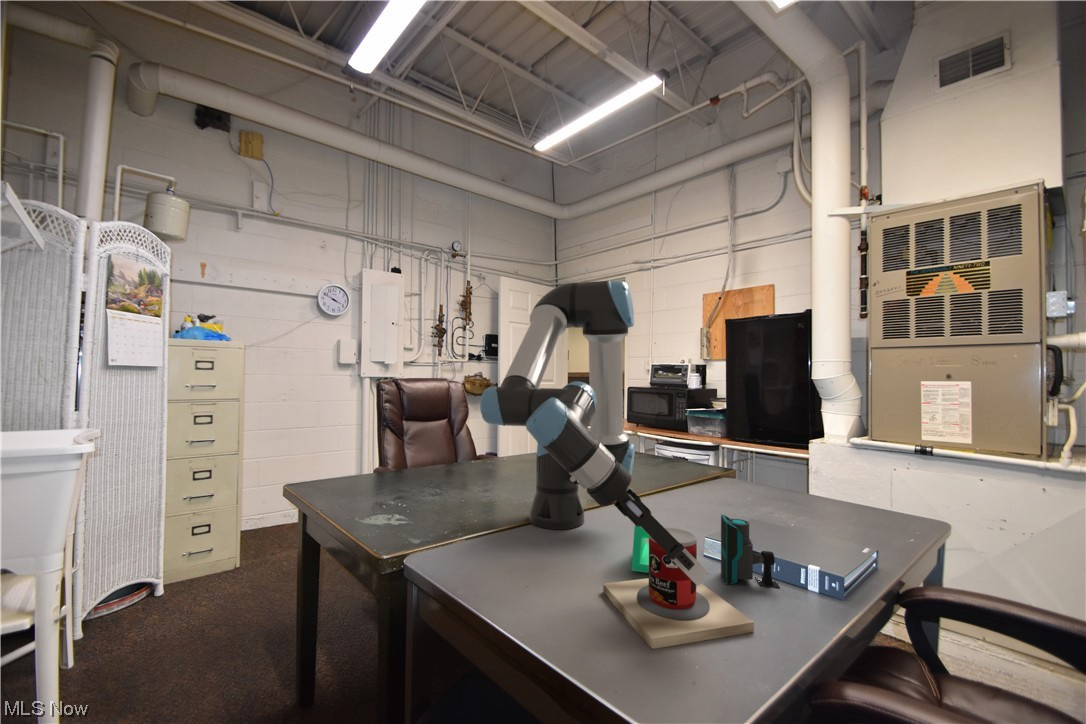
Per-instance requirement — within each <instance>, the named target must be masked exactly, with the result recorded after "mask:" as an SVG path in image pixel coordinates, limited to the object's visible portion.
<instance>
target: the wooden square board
mask: <svg viewBox="0 0 1086 724" xmlns="http://www.w3.org/2000/svg"><path fill="white" fill-rule="evenodd" d="M603 591H604V592H603ZM602 592H603V593H604V595H605V594H606V595H607V596H608V597H609V598H608V597H607V596H606V595H605V596H606V597H607V598H608V599H609V601H610V602H611V601H612V602H613V603H614V604H613V603H612V602H611V603H612V604H613V605H614V607H616V608H618V609H617V610H618V611H619V612H620V614H622V615H624V616H623V617H624V618H625V619H626V621H628V622H629V624H630V625H631V626H632V628H633V629H634V630H635V631H636V632H637V633H638V634H639V635H640V637H641V638H642V639H643V640H644V641H645V643H646V644H647V645H648V646H649V647H650V648H651V649H652V650H654V649H659V648H661V649H662V648H666V647H673V646H679V645H683V644H691V643H696V642H701V641H706V640H707V641H708V640H713V639H714V640H715V639H718V638H719V639H720V638H725V637H730V636H737V635H742V634H743V635H744V634H748V633H755V622H754V621H753V620H752V619H750V618H749V617H747V616H746V615H745V614H743V613H742V612H741V611H739V610H738V609H737V608H735V607H734V606H733V605H731V604H730V603H729V602H727V601H726V600H725V599H724V598H722V597H720V596H719V595H718V594H716V593H715V592H714V591H712V590H711V589H709V588H708V587H707V586H705V585H704V584H703V583H702V582H701V583H700V584H699V585H698V586H697V585H696V601H695V604H694V605H693V606H692V607H690V608H688V609H682V610H675V609H668V608H664V607H661V606H659V605H657V604H656V603H654V602H653V601H652V600H651V598H650V595H649V577H648V578H640V579H639V578H638V579H631V580H624V581H615V582H607V583H603V585H602Z"/></svg>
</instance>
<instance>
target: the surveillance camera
mask: <svg viewBox="0 0 1086 724" xmlns="http://www.w3.org/2000/svg"><path fill="white" fill-rule="evenodd" d="M753 545H754V544H753V543H752V539H751V538H750V522H749V521H747V520H744V519H742V518H741V519H739V518H729V517H728V516H727V515H725V514H720V575H721V574H722V575H721V578H722V577H723V578H722V579H724V580H723V583H724V582H725V583H726V584H725V583H724V584H725V585H732V584H737V583H738V580H744V581H745V580H746V581H747V580H748V581H751V580H753V579H754V578H756V577H757V576H755V577H754V575H753V573H754V570H753V569H754V566H753V565H756V564H757V565H758V564H762V565H763V574H762V577H761V578H762V581H760V580H756V582H757V581H760V582H757V584H758V583H759V584H758V585H760V586H759V587H761V586H767V587H766V588H771V587H776V588H775V589H781V586H780V585H779V583H778V582H777V581H776V580H775V581H776V582H777V583H776V582H775V581H774V582H773V581H772V579H773V577H772V566H774V565H775V564H776V563H775V562H776V561H775V554H774V552H772V551H768V550H762V551H760V552H759V551H756V550H754V546H753ZM753 577H754V578H753ZM757 579H758V578H757ZM777 587H778V588H777Z"/></svg>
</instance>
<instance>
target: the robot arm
mask: <svg viewBox="0 0 1086 724" xmlns="http://www.w3.org/2000/svg"><path fill="white" fill-rule="evenodd" d="M634 312H635V311H634V305H633V298H632V294H631V290H630V287H629V285H628V284H627V283H626V282H625V281H622V280H604V281H603V280H601V281H584V282H567V283H563V284H561V285H558V286H557V287H554V288H553V289H551V290H549V291H548V292H547V293H545V295H543V296H542V297H541V298H540V299H539V300H538V301H537V303H536V304H535V305H534V307H533V308H532V311H531V312H530V316H529V323H530V324H529V326H528V328H527V330H526V333H525V335H524V337H523V338H522V341H521V343H520V344H519V347H518V349H517V352H516V354H515V355H514V357H513V359H512V362H511V363H510V366H509V368H508V370H507V373H506V375H505V376H504V378H503V380H502V382H501V384H500V386H497V385H494V386H489V387H486V388H485V389H484V390H483V392H482V394H481V398H480V401H479V402H480V403H479V409H480V413H481V417H482V419H483V421H484V422H485V423H487V424H490V425H497V426H503V427H505V426H510V427H514V426H515V427H525V428H526V431H528V433H529V434H530V435H531V436H532V438H533V439H534V440H535V441H536V443H537V445H536V454H535V458H536V461H535V462H536V469H535V471H536V473H535V475H536V476H535V479H536V480H535V481H536V482H535V483H536V484H535V485H536V487H535V488H536V489H535V494H534V496H533V497H534V498H533V499H532V503H531V506H530V509H529V515H528V520H529V523H530V524H531V525H534V526H535V527H538V528H543V529H548V530H549V529H550V530H567V529H574V528H578V527H581V526H582V525H583V524H584V523H585V512H584V508H583V504H582V501H581V497H580V495H579V485H580V486H581V488H583V489H586V493H587V494H588V496H590V497H591V498H592V499H593V500H594V501H595V502H596V503H597V504H598V505H599V506H601V507H607V506H610V505H612V504H613V503H614V504H613V506H615V507H616V508H617V510H618V511H619V512H620V513H621V514H622V515H623V516H624V517H627V518H628V519H629V520H630V522H631V523H633V524H634V526H635V525H636V526H637V527H639V526H640V527H641V528H642V529H643V530H644V531H645V532H646V533H647V534H648V535H650V536H651V537H652V538H653V539H654V540H655V541H656V542H657V543H658V545H659V546H660V547H661V548H662V549H663V550H664V551H665V552H666V553H667V555H668V556H667V557H666V558H665V559H666V560H667V561H668V562H669V561H670V560H671V559H672V560H673V561H674V562H675V563H676V564H677V565H678V567H679V568H680V569H681V570H682V571H683V572H684V573H685V574H686V575H687V576H688V577H689V578H690V579H691V580H692V581H693V582H694V583H695V584H696V585H697V586H698V585H699V584H700V583H701V584H702V583H703V581H704V580H705V579H706V578H707V577H708V576H709V575H710V573H709V571H708V570H707V569H706V568H704V566H702V564H700V562H699V561H698V560H696V559H695V558H694V557H693V556H692V555H691V554H690V553H689V552H688V551H687V550H686V549H685V548H684V547H683V545H682V544H680V543H679V542H678V541H677V540H676V539H675V538H674V537H673V536H672V535H671V534H670V533H669V532H668V531H667V530H666V529H665V528H666V527H664V526H663V525H662V524H661V523H660V522H659V521H658V520H657V519H656V518H655V517H654V516H653V515H652V511H651V509H650V508H649V507H647V506H646V504H645V503H643V501H642V499H641V497H640V496H639V495H638V494H637V493H636V492H634V491H633V490H632V489H631V488H629V486H630V485H631V482H632V474H633V469H634V468H633V467H634V462H635V461H634V459H635V453H636V452H635V451H636V450H635V449H636V445H635V444H634V443H632V442H630V435H628V433H626V431H624V408H623V407H624V402H623V401H624V398H623V397H624V395H623V393H624V391H623V387H624V386H623V381H624V380H623V341H624V339H625V338H626V337H627V336H628V335H629V328H632V327H634V325H635V313H634ZM572 328H578V329H579V328H581V329H582V336H583V337H584V338H585V339H586V340H587V342H588V368H589V370H588V371H589V375H588V376H589V377H588V378H589V382H588V383H589V384H588V383H586V382H583V381H571V382H570V383H567V384H566V385H565V386H563V387H562V388H553V387H552V388H548V387H547V388H546V387H545V388H544V387H540V386H541V383H542V380H543V378H544V375H545V372H546V370H547V368H548V365H549V362H550V360H551V357H552V355H553V352H554V350H555V347H556V345H557V341H558V340H559V337H560V336H562V334H564V333H565V332H566V330H567V329H572ZM589 426H590V429H588V428H589ZM628 488H629V489H628Z"/></svg>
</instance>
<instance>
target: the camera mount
mask: <svg viewBox="0 0 1086 724" xmlns="http://www.w3.org/2000/svg"><path fill="white" fill-rule="evenodd" d="M633 529H634V531H633V542H632V543H633V544H632V557H631V558H632V559H631V571H633V572H634V571H635V572H641V573H646V574H647V573H648V574H649V542H646V541H647V540H646V539H648V540H649V535H648V534H647V533H646V532H645V531H644V530H643V529H642V528H641V527H640V526H639V527H637V526H636V525H635V524H634V528H633Z"/></svg>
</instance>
